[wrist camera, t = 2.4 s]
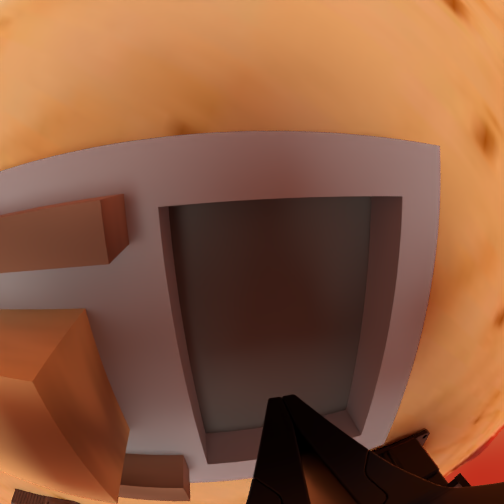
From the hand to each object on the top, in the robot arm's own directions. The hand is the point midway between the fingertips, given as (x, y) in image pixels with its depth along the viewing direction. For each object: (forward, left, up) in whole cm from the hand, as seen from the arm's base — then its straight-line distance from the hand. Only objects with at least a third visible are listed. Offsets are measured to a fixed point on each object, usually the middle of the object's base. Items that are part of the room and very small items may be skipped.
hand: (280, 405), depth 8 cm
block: (0, +10, -2) cm, 10 cm away
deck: (0, +11, -4) cm, 12 cm away
